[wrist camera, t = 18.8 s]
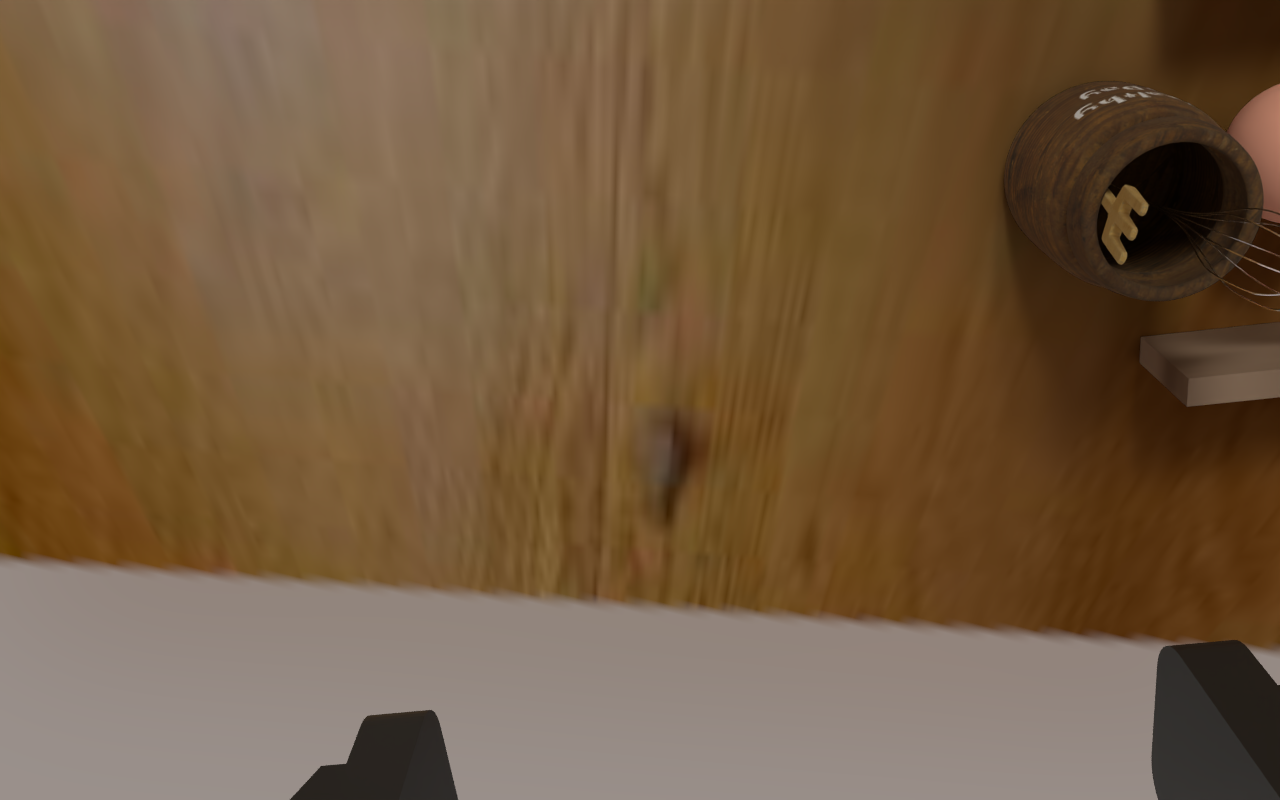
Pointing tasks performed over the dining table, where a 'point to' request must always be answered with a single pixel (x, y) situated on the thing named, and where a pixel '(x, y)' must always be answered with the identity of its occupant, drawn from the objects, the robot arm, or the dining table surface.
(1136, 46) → the dining table surface
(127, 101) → the dining table surface
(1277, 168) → the ball
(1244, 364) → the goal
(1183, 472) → the dining table surface
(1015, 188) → the utensil holder
